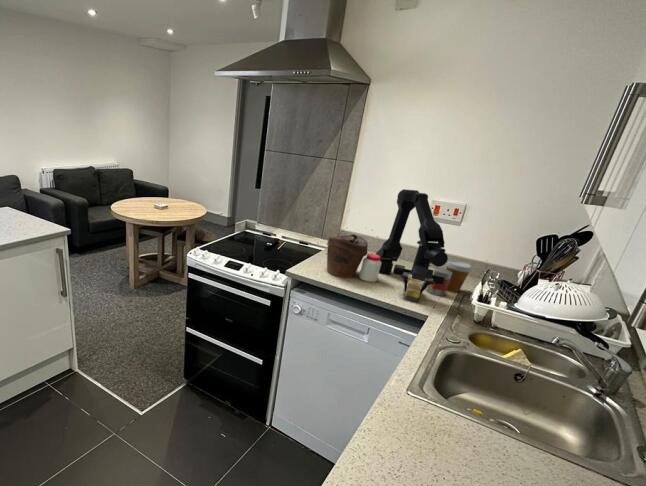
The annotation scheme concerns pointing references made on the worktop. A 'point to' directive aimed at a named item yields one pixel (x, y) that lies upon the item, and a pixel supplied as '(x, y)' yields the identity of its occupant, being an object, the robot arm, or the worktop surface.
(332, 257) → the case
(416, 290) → the golden brown bar
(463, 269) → the disposable coffee cup
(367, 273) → the pill bottle
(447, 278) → the tin can
